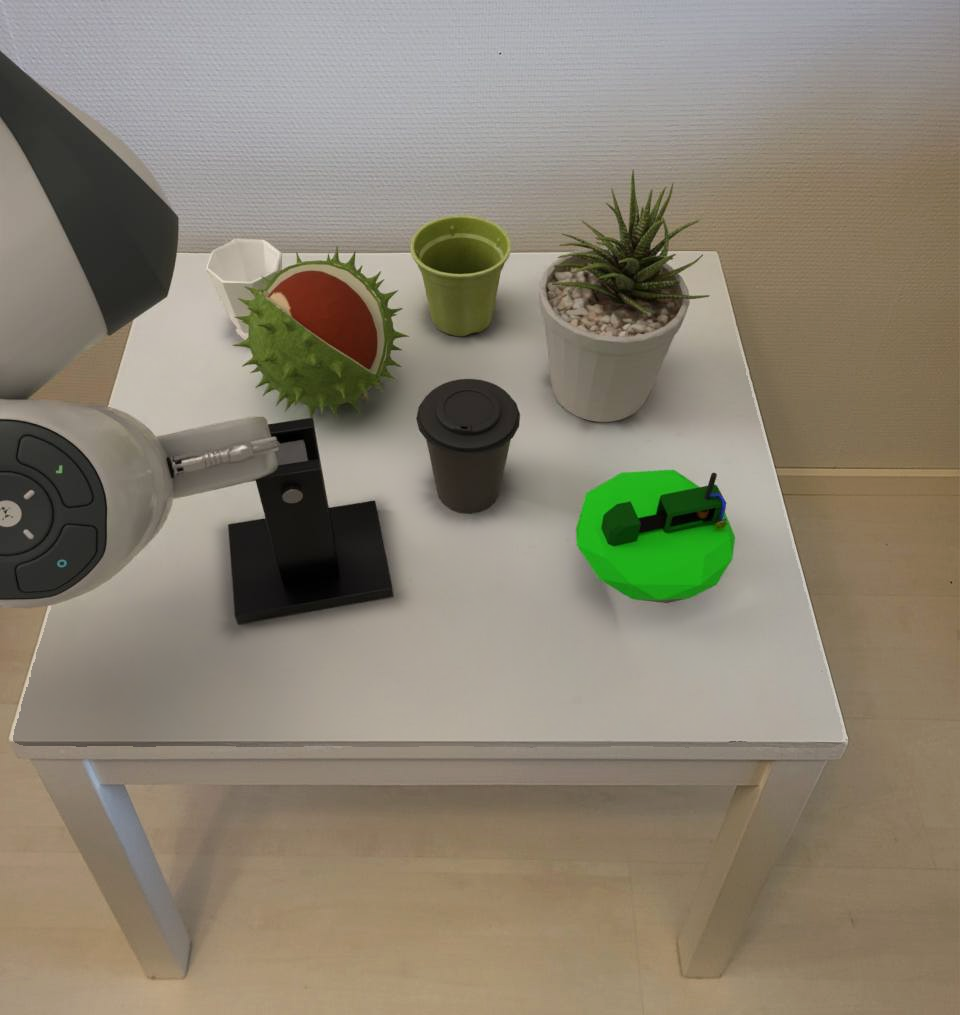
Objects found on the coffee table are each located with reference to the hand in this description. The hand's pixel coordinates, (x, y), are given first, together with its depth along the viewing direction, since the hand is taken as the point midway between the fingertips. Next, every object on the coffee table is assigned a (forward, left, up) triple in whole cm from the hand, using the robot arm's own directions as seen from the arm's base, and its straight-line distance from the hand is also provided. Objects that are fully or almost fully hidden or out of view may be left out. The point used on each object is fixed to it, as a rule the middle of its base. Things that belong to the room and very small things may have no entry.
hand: (122, 474), depth 64 cm
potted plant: (+40, +14, -14) cm, 45 cm away
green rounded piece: (+37, -6, -14) cm, 40 cm away
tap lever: (+5, 0, -4) cm, 6 cm away
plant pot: (+29, +27, -14) cm, 42 cm away
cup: (+9, +31, -14) cm, 35 cm away
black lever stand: (+11, 0, -14) cm, 18 cm away
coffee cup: (+25, +5, -14) cm, 29 cm away
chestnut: (+15, +19, -14) cm, 28 cm away
